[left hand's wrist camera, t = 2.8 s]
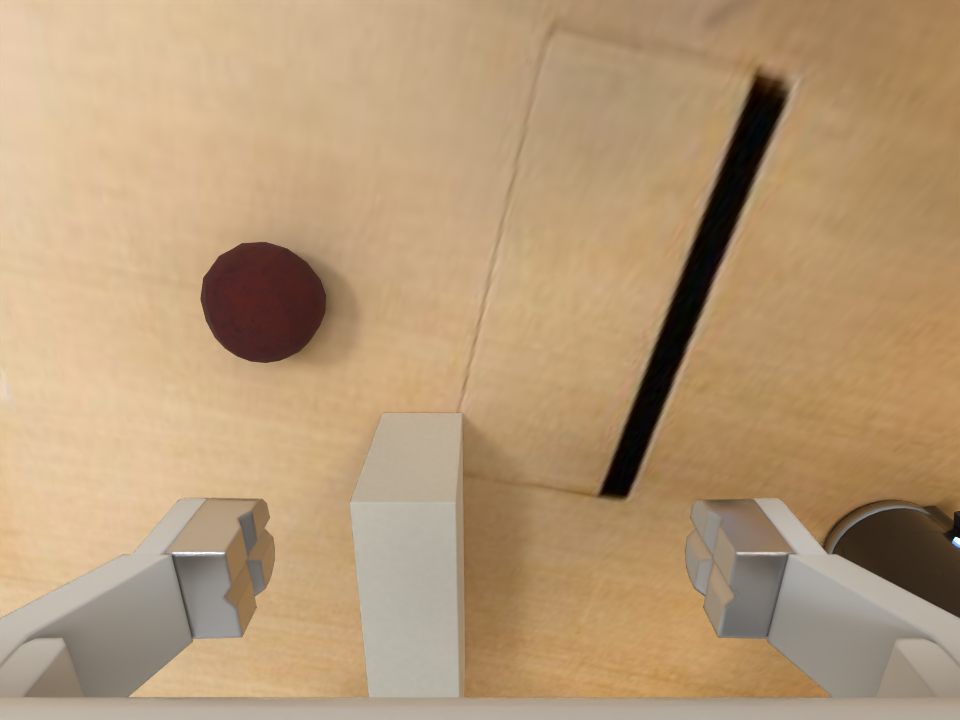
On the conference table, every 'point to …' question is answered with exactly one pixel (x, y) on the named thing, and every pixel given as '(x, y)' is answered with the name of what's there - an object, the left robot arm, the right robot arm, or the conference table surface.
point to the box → (412, 556)
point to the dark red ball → (262, 302)
